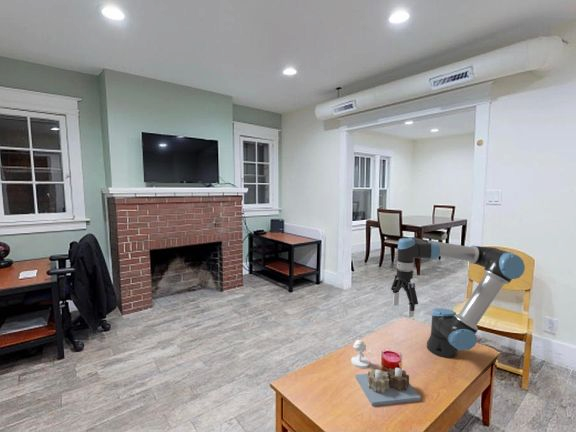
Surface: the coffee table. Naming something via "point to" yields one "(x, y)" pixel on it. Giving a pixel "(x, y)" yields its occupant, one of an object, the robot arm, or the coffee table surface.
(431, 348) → the robot arm
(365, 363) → the figurine
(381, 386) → the gear
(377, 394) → the gear board
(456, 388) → the coffee table surface
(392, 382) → the walnut gear
